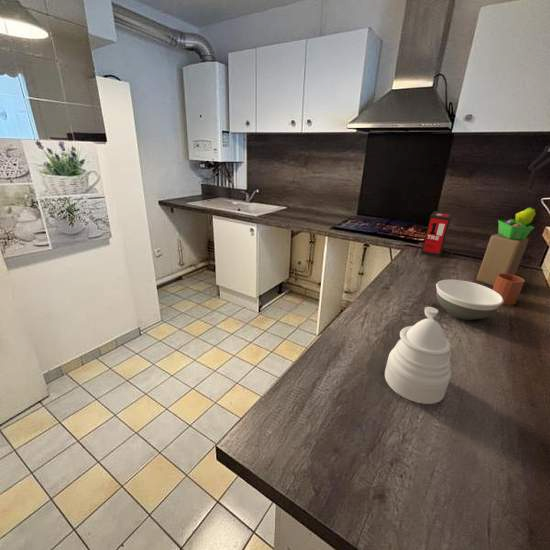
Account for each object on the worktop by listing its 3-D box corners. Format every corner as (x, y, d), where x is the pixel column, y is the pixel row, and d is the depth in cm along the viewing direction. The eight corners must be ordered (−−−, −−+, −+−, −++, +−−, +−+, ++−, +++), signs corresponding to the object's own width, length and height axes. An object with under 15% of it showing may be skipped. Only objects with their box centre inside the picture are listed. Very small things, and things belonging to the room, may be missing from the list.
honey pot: (383, 358, 74) (397, 295, 67) (438, 369, 71) (459, 305, 64) (385, 395, 63) (403, 324, 56) (451, 410, 60) (478, 337, 53)
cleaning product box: (425, 246, 167) (434, 211, 159) (442, 249, 162) (452, 213, 154) (421, 253, 154) (430, 215, 146) (439, 257, 150) (450, 218, 142)
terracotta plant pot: (515, 299, 108) (524, 277, 104) (514, 307, 102) (524, 284, 98) (490, 293, 112) (498, 271, 108) (488, 300, 106) (496, 277, 103)
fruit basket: (493, 231, 119) (502, 204, 115) (517, 233, 117) (528, 205, 113) (506, 239, 109) (517, 209, 104) (533, 241, 107) (546, 211, 103)
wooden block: (512, 284, 120) (530, 237, 112) (502, 289, 115) (520, 241, 107) (485, 276, 128) (500, 231, 120) (474, 280, 123) (490, 234, 115)
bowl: (503, 334, 86) (513, 310, 83) (433, 321, 92) (440, 297, 88) (485, 306, 102) (493, 284, 99) (427, 295, 108) (432, 275, 105)
